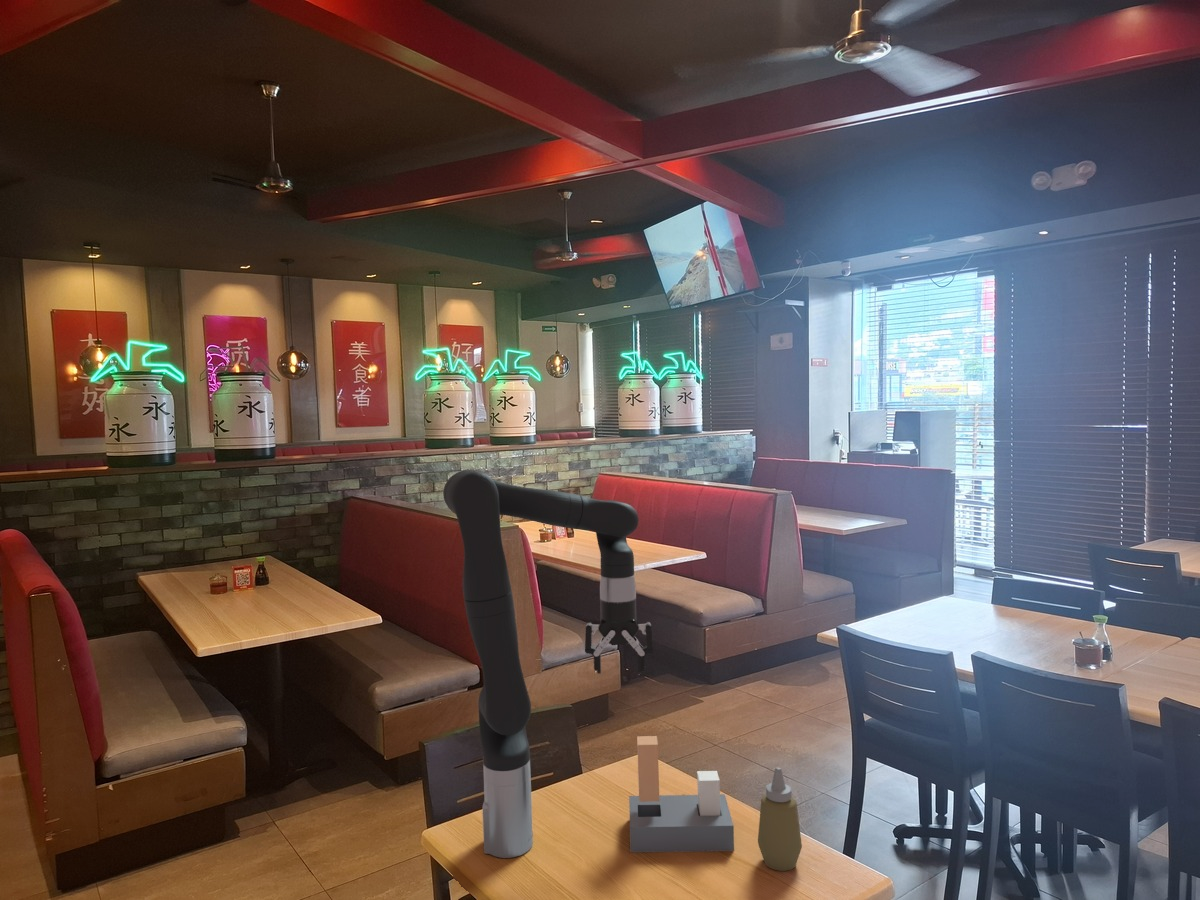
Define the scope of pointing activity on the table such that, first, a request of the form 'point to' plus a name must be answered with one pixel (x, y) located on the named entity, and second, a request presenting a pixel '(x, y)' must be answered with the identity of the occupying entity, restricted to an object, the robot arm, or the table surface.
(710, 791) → the offwhite plug
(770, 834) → the squeeze bottle
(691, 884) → the table surface
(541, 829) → the table surface
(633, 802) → the block
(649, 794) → the terracotta plug
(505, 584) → the robot arm
